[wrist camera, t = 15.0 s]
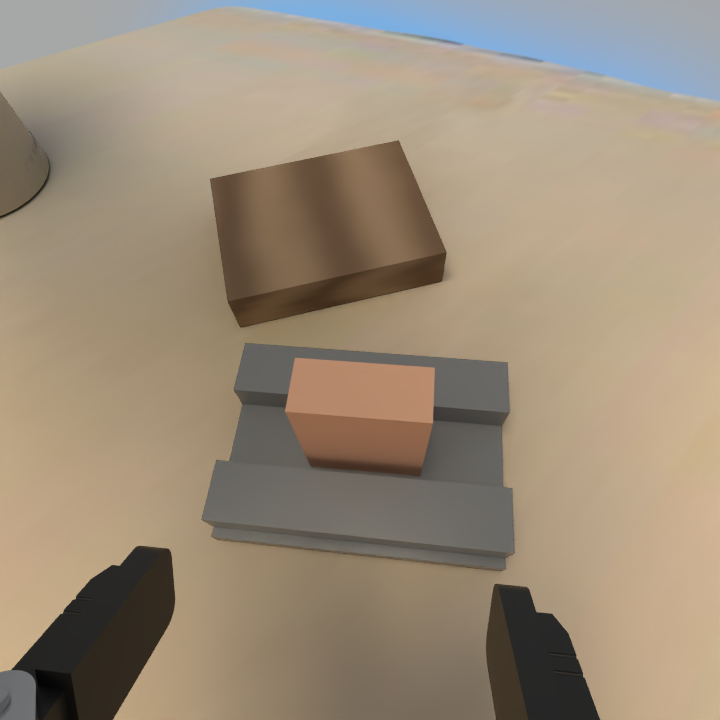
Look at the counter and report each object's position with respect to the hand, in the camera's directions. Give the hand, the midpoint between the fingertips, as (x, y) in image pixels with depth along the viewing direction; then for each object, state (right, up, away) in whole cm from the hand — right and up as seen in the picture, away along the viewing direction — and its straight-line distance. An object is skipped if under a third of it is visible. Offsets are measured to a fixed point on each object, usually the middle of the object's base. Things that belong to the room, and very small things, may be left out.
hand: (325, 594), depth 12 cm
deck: (-2, +14, +24) cm, 28 cm away
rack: (+1, 0, +16) cm, 16 cm away
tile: (+1, +1, +15) cm, 16 cm away
